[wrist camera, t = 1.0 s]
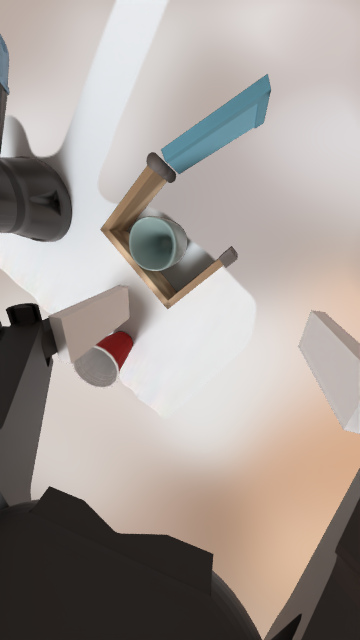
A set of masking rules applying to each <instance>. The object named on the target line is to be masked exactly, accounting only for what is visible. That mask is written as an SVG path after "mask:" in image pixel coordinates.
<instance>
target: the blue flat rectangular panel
mask: <svg viewBox="0 0 360 640" xmlns="http://www.w3.org/2000/svg"><path fill="white" fill-rule="evenodd" d="M270 92H271V87H270V82H269V78H268V74H267V75H265V76H264V77H262V78H261V79H260V80H258V81H257V82H255V83H254V84H252V85H251V86H250V87H248V88H247V89H245V90H244V91H243V92H241V93H240V94H238V95H237V96H236V97H234V98H233V99H231V100H230V101H229V102H227V103H226V104H224V105H223V106H222V107H220V108H219V109H217V110H216V111H215V112H213V113H212V114H210V115H209V116H208V117H206V118H205V119H203V120H202V121H200V122H199V123H198V124H196V125H195V126H193V127H192V128H191V129H189V130H188V131H186V132H185V133H184V134H182V135H181V136H179V137H178V138H176V139H175V140H174V141H173V142H171V143H169V144H168V145H167V146H165V147H164V148H162V149H161V151H162V153H163V156H164V159H165V161H166V162H167V163H169V164H170V165H171V166H172V167H173V168H174V169H175V171H176V172H178V173H179V174H180V173H182V172H183V171H185V170H187V169H188V168H190V167H191V166H193V165H195V164H196V163H198V162H199V161H201V160H202V159H204V158H205V157H207V156H209V155H211V154H212V153H214V152H215V151H217V150H219V149H220V148H222V147H223V146H225V145H226V144H228V143H230V142H231V141H233V140H234V139H236V138H238V137H239V136H241V135H242V134H244V133H246V132H247V131H249V130H250V129H252V128H254V127H255V128H257V127H258V126H260V125H261V124H263V123H264V119H265V115H266V110H267V105H268V100H269V96H270Z"/></svg>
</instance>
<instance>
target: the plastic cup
mask: <svg viewBox="0 0 360 640" xmlns="http://www.w3.org/2000/svg"><path fill="white" fill-rule="evenodd" d="M132 346H133V341H132V339H131V337H130V336H129V335H128V334H127V333H125V332H116V333H114V334H112V335H109V336H107V337H105V338H104V339H102V340H101V341H100V342H99V343H97V344H96V345H95V346H93V347H92V348H91V349H90V350H88V351H87V352H86V353H85V354H83V355H82V356H81V357H79V358H78V359H77V360H76V361H74V362H73V363H72V366H73V369H74V371H75V372H76V374H77V375H78V377H79V378H80V379H81V380H83V381H84V382H85V383H86V384H88V385H91V386H93V387H95V388H103V389H104V388H108V387H112V386H113V385H114V384H115V383H116V382H117V380H118V377H119V373H120V372H119V371H120V369H121V367H122V365H123V364H124V362H125V360H126V358H127V356H128V354H129V352H130V351H131V349H132Z"/></svg>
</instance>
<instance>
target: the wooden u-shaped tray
mask: <svg viewBox="0 0 360 640" xmlns="http://www.w3.org/2000/svg"><path fill="white" fill-rule="evenodd" d="M175 179H176V174H175V172H174V171H173V170H172V169H171V168H170V167H169V166H168V165H167V164H166V163H165V162H164V161H163V160H162V159H161V158H160V157H159V156H158V155H157V154H156V153H153V152H152V153H150V154H149V155H148V157H147V167H146V168H145V169H144V171H143V172H142V173H141V175H140V176H139V178H138V179H137V180H136V182H135V183H134V184H133V186H132V187H131V188H130V190H129V191H128V193H127V194H126V195H125V197H124V198H123V199H122V201H121V202H120V203H119V205H118V206H117V207H116V209H115V210H114V212H113V213H112V214H111V216H110V217H109V218H108V220H107V221H106V222H105V224H104V225H103V227H102V228H101V229H100V230H101V231H102V232H103V233H104V234H105V236H106V237H107V238H108V239H109V240H110V242H111V243H112V244H113V245H114V246H115V247H116V249H117V250H118V251H119V252H120V253H121V255H122V256H123V257H124V258H125V259H126V261H127V262H128V263H129V264H130V265H131V267H132V268H133V269H134V270H135V271H136V272H137V274H138V275H139V276H140V277H141V278H142V280H143V281H144V282H145V283H146V284H147V286H148V287H149V288H150V289H151V290H152V291H153V293H154V294H155V295H156V296H157V297H158V299H159V300H160V301H161V302H162V303H163V305H164V306H165V307H166V308H167V309H169V308H170V307H171V306H172V305H174V304H175V303H176V302H178V301H179V300H180V299H181V298H183V297H184V296H185V295H186V294H188V293H189V292H190V291H191V290H193V289H194V288H195V287H196V286H198V285H199V284H200V283H202V282H203V281H204V280H205V279H207V278H208V277H209V276H210V275H212V274H213V273H214V272H215V271H217V270H218V269H219V268H220V267H222V266H223V265H224V266H225V268H226V267H227V266H229V265H230V264H231V263H233V262H234V261H235V260H237V257H238V256H237V255H238V254H237V252H236V251H235V250H234V248H233V247H232V246H231V247H230V248H229V249H228V250H227V251H225V252H224V253H223V254H222V255H221V256H220V257H219V258H218V259H217V260H216V261H215V262H214V263H212V264H211V265H210V266H209V267H207V268H206V269H205V270H204V271H203V272H201V273H200V274H199V275H198V276H196V277H195V278H194V279H193V280H192V281H190V282H189V283H188V284H187V285H186V286H184V287H183V288H182V289H181V290H179V291H178V292H176V291H175V289H174V288H173V287H172V286H171V285H170V283H169V282H168V281H167V280H166V278H165V277H164V276H163V275H162V274H161V272H160V271H150V270H147V269H144V268H142V267H141V266H139V265H138V264H137V263H136V262H135V261H134V259H133V257H132V255H131V252H130V247H129V236H130V235H129V233H128V232H127V229H128V228H129V227H130V226H131V225H132V223H133V222H134V221H135V220H136V218H137V217H138V216H139V215H140V214H141V212H142V211H143V210H144V209H145V208H146V206H147V205H148V204H149V202H150V201H151V200H152V199H153V198H154V197H155V195H156V194H157V193H158V192H159V190H160V189H161V188H162V187H163V186H164V184H165V183H166V182H167V181H168V182H169V183H172V182H173V181H175Z"/></svg>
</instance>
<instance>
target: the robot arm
mask: <svg viewBox="0 0 360 640" xmlns="http://www.w3.org/2000/svg"><path fill="white" fill-rule="evenodd" d="M8 67H9V54H8V50H7V47H6V44H5V42H4V40H3V38H2V36H1V34H0V153H1V145H2V136H3V128H4V119H5V110H6V101H7V94H8V95H9V88H8ZM70 222H71V203H70V199H69V195H68V192H67V190H66V187H65V185H64V183H63V182H62V180H61V178H60V177H59V176H58V174H57V173H56V172H55V171H54V170H53V169H52V168H51V167H50V166H48V165H47V164H45V163H43V162H41V161H38V160H36V159H33V158H30V157H24V156H21V157H15V158H0V233H14V234H17V235H20V236H23V237H26V238H30V239H32V240H36V241H40V242H53V241H57V240H59V239H61V238H62V237H63V236H64V235H65V234H66V233H67V231H68V229H69V226H70ZM6 311H7V314H8V317H9V320H10V323H11V325H10V327H6V326H2V324H1V322H0V640H262V639H261V637H260V635H259V633H258V631H257V628H256V627H255V625H254V623H253V622H252V620H251V618H250V616H249V615H248V613H247V611H246V610H245V608H244V607H243V605H242V604H241V602H240V601H239V600H238V598H237V597H236V595H235V594H234V592H233V591H232V590H231V589H230V588H229V587H228V585H227V584H226V583H225V582H224V581H223V580H222V579H221V578H220V577H219V576H218V575H217V574H216V573H215V572H214V571H212V564H213V554H212V553H210V552H207V551H205V550H202V549H200V548H197V547H195V546H193V545H190V544H188V543H185V542H183V541H180V540H178V539H176V538H173V537H171V536H168V535H155V534H120V533H117V532H115V531H113V529H112V528H111V527H110V526H109V525H108V524H107V523H106V522H105V521H104V520H103V519H102V518H101V517H100V516H99V515H98V514H97V513H96V512H95V511H94V510H93V509H92V508H91V507H90V506H89V505H88V504H87V503H86V502H85V501H84V500H82V499H79V498H77V497H74V496H72V495H69V494H67V493H65V492H62V491H60V490H57V489H55V488H52V487H50V486H49V487H48V489H47V490H46V492H45V493H44V494H43V496H42V497H41V498H40V500H32V501H31V494H30V489H31V480H32V475H33V470H34V464H35V459H36V453H37V447H38V442H39V437H40V431H41V426H42V420H43V415H44V409H45V404H46V398H47V392H48V388H49V382H50V377H51V371H52V366H53V359H52V355H53V354H55V353H58V356H59V361H61V362H65V363H69V364H72V363H73V362H74V361H76V360H77V359H78V358H79V357H81V356H82V355H83V354H85V353H86V352H87V351H88V350H90V349H91V348H92V347H93V346H95V345H96V344H97V343H99V342H100V341H101V340H102V339H104V338H105V337H106V336H107V335H109V334H110V333H111V332H113V331H114V330H115V329H116V328H118V327H119V326H120V325H122V324H123V323H124V322H125V321H127V320H128V319H129V318H130V313H129V296H128V286H121V285H119V286H116V287H114V288H112V289H109V290H107V291H105V292H103V293H100V294H98V295H96V296H93V297H91V298H89V299H87V300H84V301H82V302H80V303H77V304H75V305H73V306H70V307H68V308H66V309H64V310H61V311H59V312H57V313H54V314H52V315H50V316H49V318H47V319H45V320H42V318H41V314H40V310H39V307H38V305H37V304H33V303H25V304H18V305H14V306H11V307H8V308H7V309H6ZM298 347H299V349H300V351H301V352H302V354H303V356H304V358H305V360H306V362H307V363H308V365H309V367H310V369H311V371H312V373H313V375H314V376H315V378H316V380H317V382H318V384H319V386H320V388H321V389H322V391H323V393H324V395H325V397H326V399H327V401H328V402H329V404H330V406H331V408H332V410H333V412H334V414H335V415H336V417H337V419H338V421H339V423H340V424H341V426H342V428H343V430H346V431H350V432H354V433H359V434H360V343H358V342H357V341H356V340H355V339H354V338H353V337H352V336H351V335H350V334H348V333H347V332H346V331H345V330H344V329H343V328H342V327H341V326H339V325H338V324H337V323H336V322H335V321H334V320H332V318H331V317H329V316H328V315H327V314H326V313H325V312H320V311H312V310H311V312H310V315H309V318H308V321H307V323H306V326H305V329H304V332H303V334H302V337H301V340H300V343H299V345H298ZM264 640H360V469H359V470H358V472H357V474H356V476H355V478H354V480H353V481H352V483H351V485H350V487H349V489H348V491H347V493H346V494H345V496H344V498H343V500H342V502H341V504H340V506H339V508H338V509H337V511H336V513H335V515H334V517H333V519H332V520H331V522H330V524H329V526H328V528H327V530H326V532H325V533H324V535H323V537H322V539H321V541H320V543H319V544H318V547H317V548H316V550H315V552H314V554H313V556H312V557H311V559H310V561H309V563H308V565H307V567H306V569H305V571H304V573H303V574H302V576H301V578H300V580H299V582H298V583H297V585H296V587H295V589H294V591H293V593H292V594H291V596H290V598H289V600H288V601H287V603H286V605H285V606H284V608H283V609H282V611H281V612H280V614H279V615H278V616H277V618H276V620H275V622H274V623H273V625H272V626H271V628H270V630H269V632H268V633H267V635H266V637H265V639H264Z"/></svg>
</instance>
